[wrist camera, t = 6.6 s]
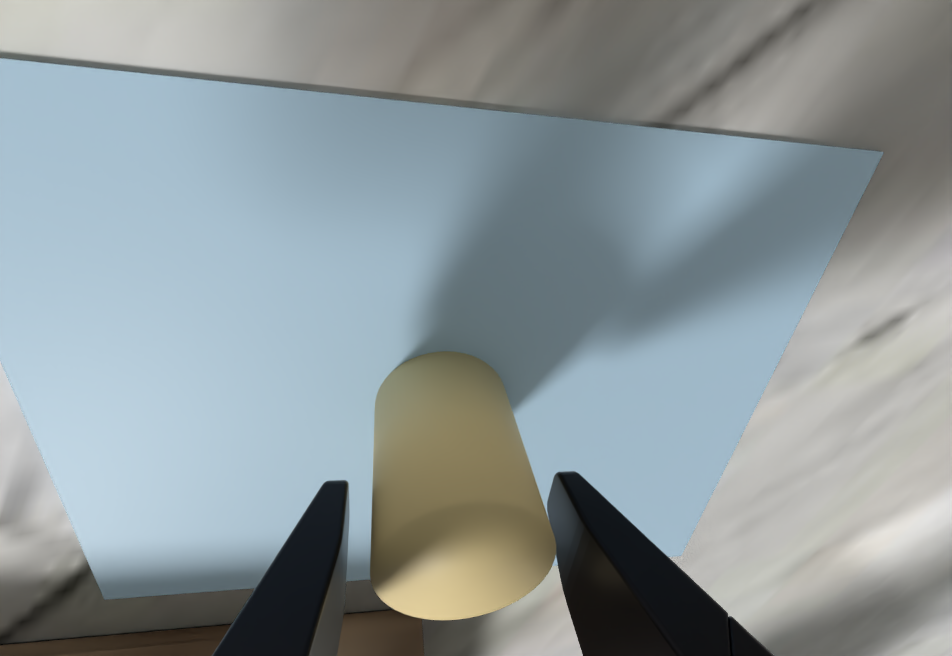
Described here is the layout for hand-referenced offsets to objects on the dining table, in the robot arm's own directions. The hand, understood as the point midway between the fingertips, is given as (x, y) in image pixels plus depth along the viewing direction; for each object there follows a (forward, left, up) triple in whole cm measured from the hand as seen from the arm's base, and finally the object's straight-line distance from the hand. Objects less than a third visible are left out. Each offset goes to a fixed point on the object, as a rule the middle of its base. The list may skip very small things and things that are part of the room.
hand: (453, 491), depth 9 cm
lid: (0, 0, -3) cm, 3 cm away
